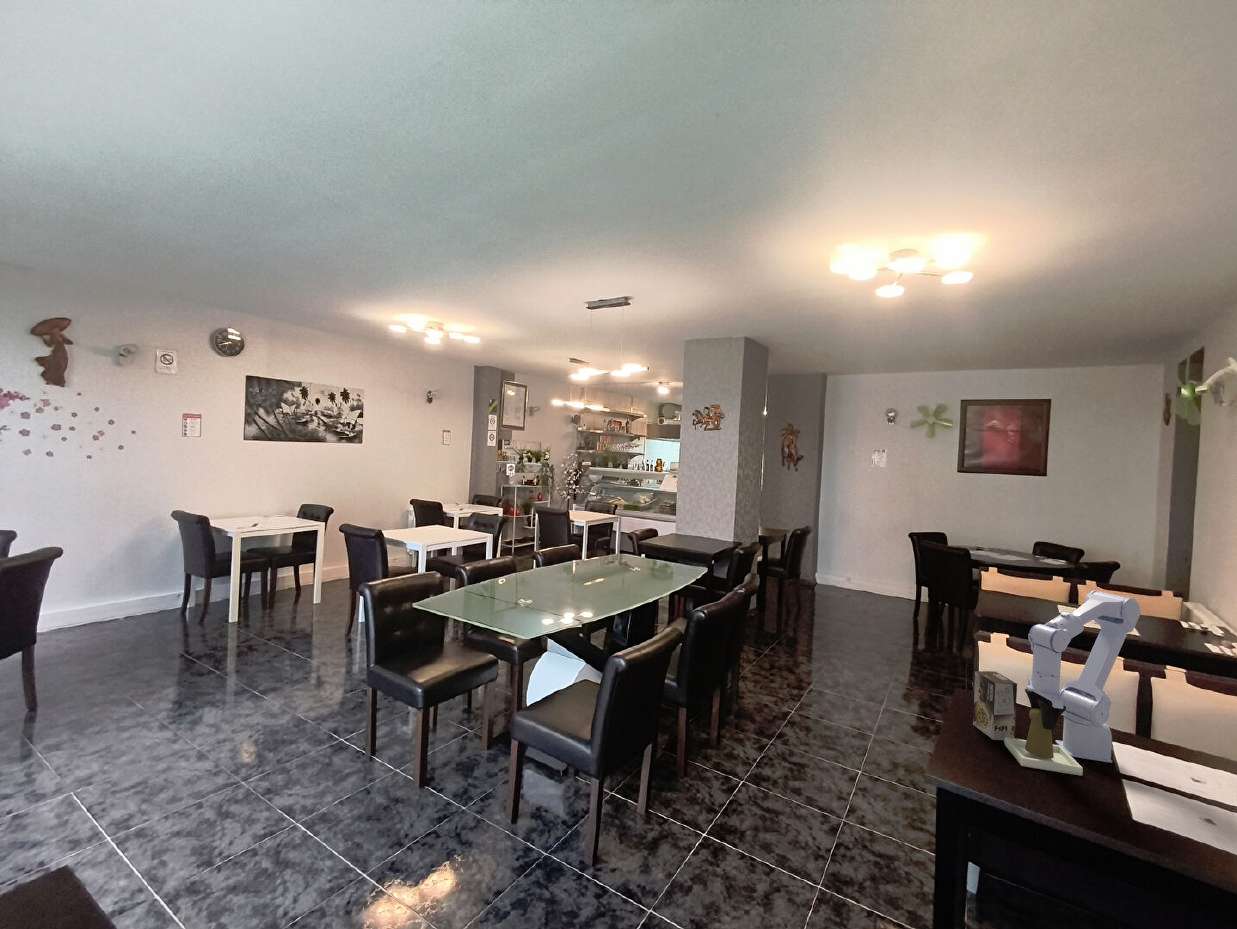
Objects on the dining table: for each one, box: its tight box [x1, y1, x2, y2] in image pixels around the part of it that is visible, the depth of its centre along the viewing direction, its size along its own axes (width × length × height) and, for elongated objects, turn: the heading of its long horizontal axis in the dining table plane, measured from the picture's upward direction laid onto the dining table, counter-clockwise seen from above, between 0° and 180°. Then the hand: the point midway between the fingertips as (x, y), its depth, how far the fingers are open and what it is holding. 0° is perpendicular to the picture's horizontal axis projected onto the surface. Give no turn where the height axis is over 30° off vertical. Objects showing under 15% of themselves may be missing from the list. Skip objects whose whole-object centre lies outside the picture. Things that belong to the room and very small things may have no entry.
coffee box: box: [972, 670, 1018, 741], centre depth 156 cm, size 9×6×16 cm
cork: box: [1025, 708, 1054, 759], centre depth 143 cm, size 6×6×11 cm
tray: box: [1003, 737, 1084, 777], centre depth 143 cm, size 13×11×2 cm
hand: (1043, 723), depth 143 cm, fingers closed on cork, 5 cm apart
